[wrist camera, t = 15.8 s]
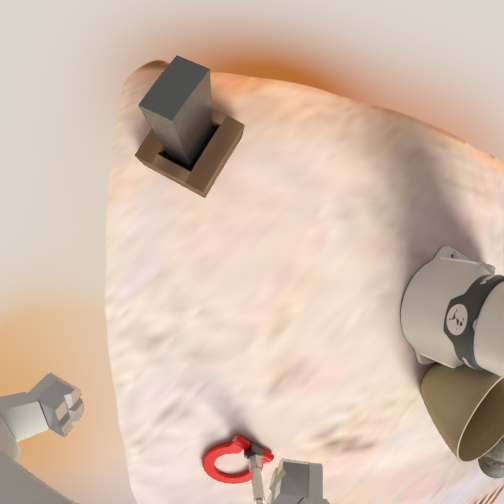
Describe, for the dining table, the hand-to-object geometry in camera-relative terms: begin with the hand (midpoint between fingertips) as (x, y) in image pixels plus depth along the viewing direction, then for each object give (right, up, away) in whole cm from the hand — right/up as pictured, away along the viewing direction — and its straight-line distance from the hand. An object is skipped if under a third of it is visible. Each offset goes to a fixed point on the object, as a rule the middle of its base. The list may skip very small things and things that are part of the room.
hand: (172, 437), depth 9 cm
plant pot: (+34, -15, +32) cm, 49 cm away
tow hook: (0, -25, +29) cm, 38 cm away
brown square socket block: (-4, +19, +27) cm, 33 cm away
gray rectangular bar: (-4, +19, +26) cm, 32 cm away
